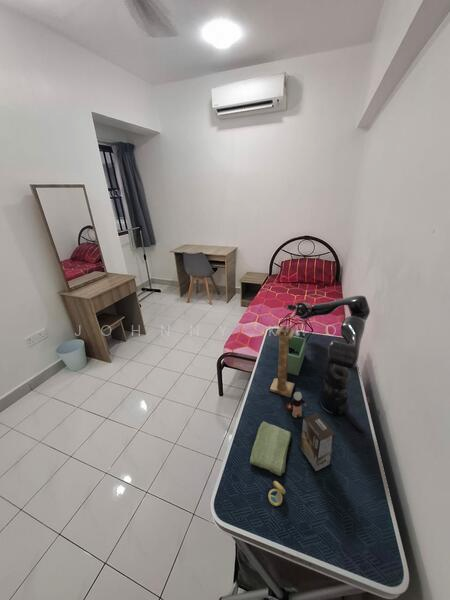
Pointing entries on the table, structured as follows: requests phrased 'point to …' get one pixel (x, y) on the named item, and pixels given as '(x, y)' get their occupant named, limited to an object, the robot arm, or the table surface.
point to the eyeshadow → (276, 494)
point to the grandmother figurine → (297, 404)
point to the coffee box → (317, 441)
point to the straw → (293, 313)
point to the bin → (296, 355)
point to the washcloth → (270, 448)
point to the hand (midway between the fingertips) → (295, 307)
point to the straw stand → (283, 363)
